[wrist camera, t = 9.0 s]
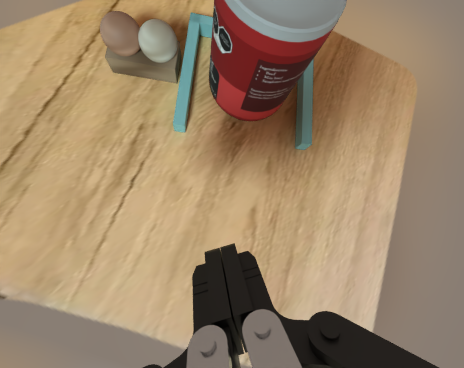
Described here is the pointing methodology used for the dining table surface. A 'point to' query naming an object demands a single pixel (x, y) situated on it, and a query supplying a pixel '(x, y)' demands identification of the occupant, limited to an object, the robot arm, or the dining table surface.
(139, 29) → the egg holder with eggs
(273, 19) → the canned food
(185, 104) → the teal bay
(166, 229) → the dining table surface
